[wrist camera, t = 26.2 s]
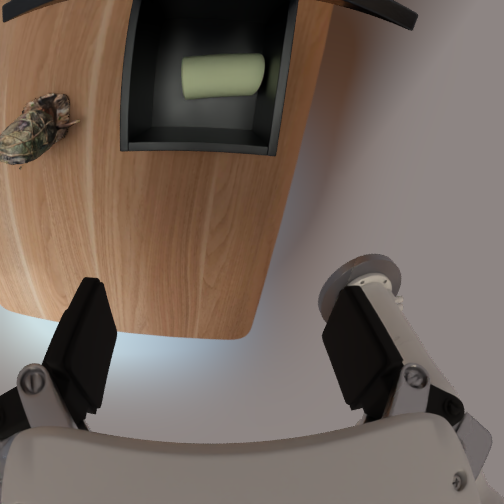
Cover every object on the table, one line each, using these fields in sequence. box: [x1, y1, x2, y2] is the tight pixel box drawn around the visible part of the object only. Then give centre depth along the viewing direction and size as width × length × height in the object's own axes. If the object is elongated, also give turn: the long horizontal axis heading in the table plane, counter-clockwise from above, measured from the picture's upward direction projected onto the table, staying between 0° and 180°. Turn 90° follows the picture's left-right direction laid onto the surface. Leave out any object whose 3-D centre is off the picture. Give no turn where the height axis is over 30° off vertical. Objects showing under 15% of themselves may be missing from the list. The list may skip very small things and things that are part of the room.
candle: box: [181, 53, 265, 100], centre depth 24 cm, size 5×5×8 cm
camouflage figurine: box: [0, 93, 80, 169], centre depth 17 cm, size 8×11×20 cm
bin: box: [120, 0, 299, 156], centre depth 22 cm, size 16×14×11 cm
